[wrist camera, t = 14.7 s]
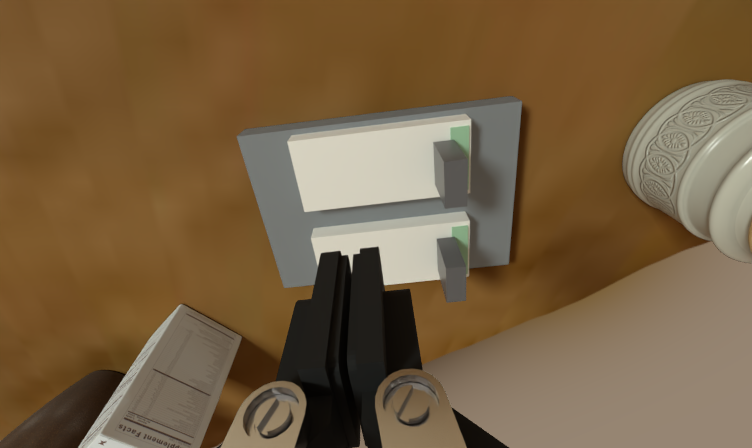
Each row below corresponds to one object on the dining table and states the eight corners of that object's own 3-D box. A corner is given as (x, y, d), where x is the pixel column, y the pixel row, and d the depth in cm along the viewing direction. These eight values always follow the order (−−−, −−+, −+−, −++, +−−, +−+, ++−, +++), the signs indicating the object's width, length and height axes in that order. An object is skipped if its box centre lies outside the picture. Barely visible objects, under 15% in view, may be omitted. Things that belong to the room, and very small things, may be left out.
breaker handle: (436, 238, 36) (445, 268, 32) (454, 236, 36) (466, 266, 32) (437, 270, 38) (446, 302, 34) (454, 268, 38) (465, 300, 34)
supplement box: (147, 339, 49) (54, 474, 34) (181, 301, 46) (93, 433, 31) (209, 370, 52) (148, 506, 38) (245, 336, 49) (193, 471, 35)
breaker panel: (244, 129, 35) (228, 143, 31) (512, 95, 34) (531, 106, 30) (288, 274, 44) (280, 300, 40) (501, 251, 43) (515, 276, 39)
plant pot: (117, 426, 59) (39, 552, 45) (34, 374, 52) (-87, 503, 38) (185, 396, 55) (124, 523, 41) (106, 337, 49) (1, 464, 35)
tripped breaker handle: (433, 142, 31) (443, 161, 27) (453, 139, 31) (467, 159, 27) (434, 184, 33) (445, 208, 29) (454, 181, 33) (467, 206, 29)
